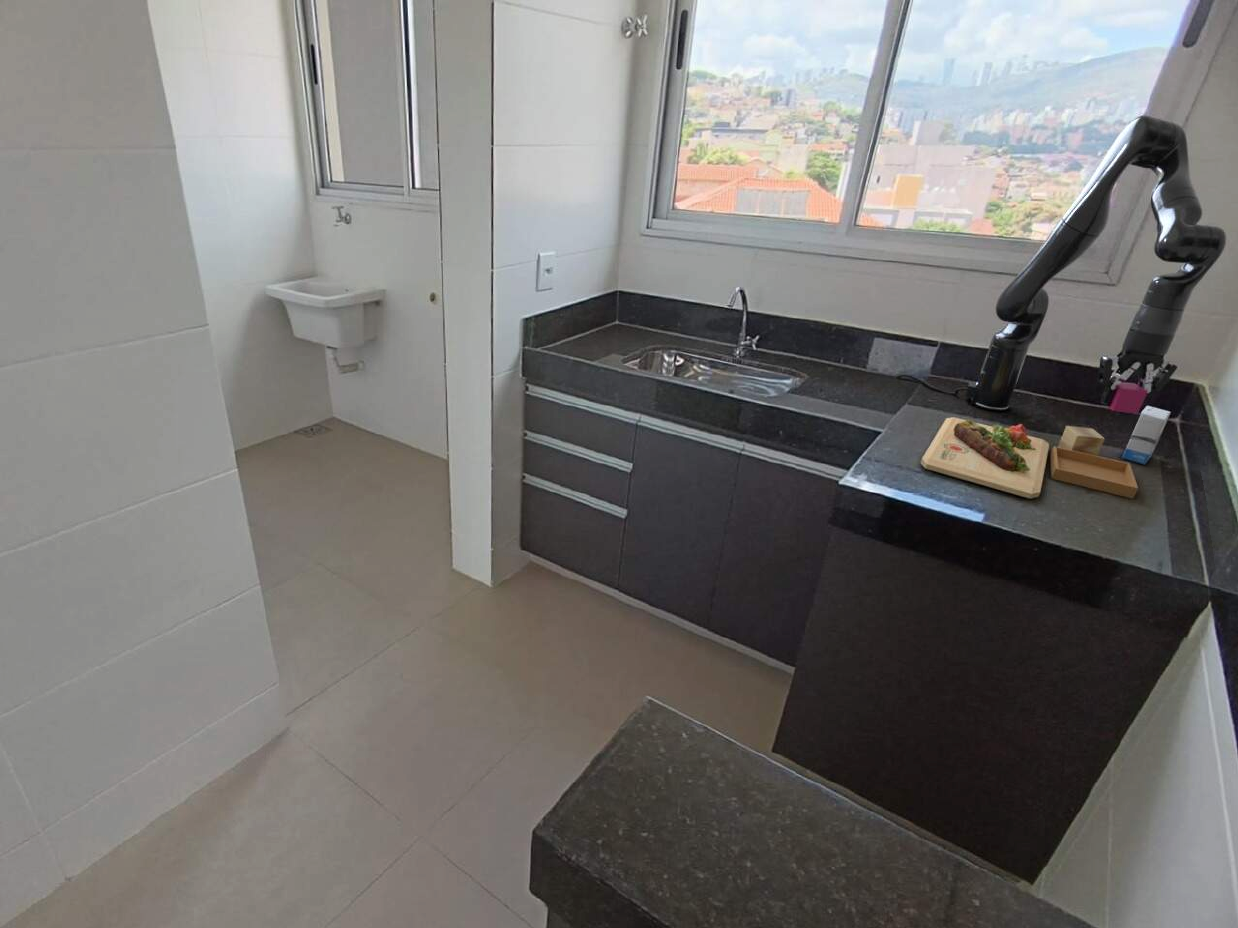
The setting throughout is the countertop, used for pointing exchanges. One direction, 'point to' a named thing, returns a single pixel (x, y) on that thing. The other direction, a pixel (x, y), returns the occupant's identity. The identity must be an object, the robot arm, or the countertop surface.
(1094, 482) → the tray
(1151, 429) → the ink box
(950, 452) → the cutting board
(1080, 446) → the base block
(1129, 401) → the pink block
